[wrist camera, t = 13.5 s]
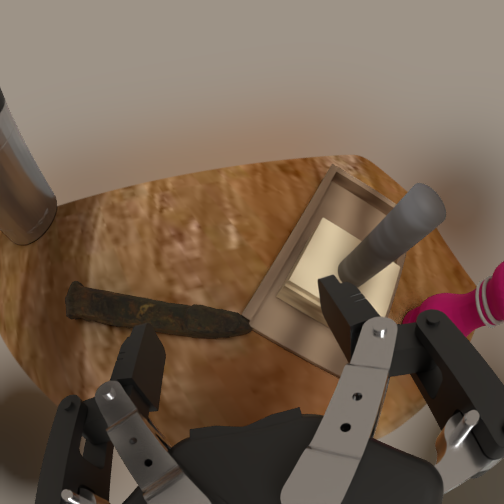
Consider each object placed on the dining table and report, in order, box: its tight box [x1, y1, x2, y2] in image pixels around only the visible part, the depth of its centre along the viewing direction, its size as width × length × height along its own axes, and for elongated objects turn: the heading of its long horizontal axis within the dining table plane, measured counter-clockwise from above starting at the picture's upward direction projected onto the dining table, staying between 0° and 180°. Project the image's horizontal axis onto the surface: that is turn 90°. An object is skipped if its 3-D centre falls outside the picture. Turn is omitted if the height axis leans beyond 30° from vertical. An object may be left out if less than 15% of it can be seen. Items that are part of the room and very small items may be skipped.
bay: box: [241, 164, 406, 378], centre depth 32 cm, size 14×24×3 cm, turn 150°
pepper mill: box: [402, 262, 504, 337], centre depth 22 cm, size 7×7×20 cm
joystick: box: [276, 183, 446, 327], centre depth 22 cm, size 10×8×17 cm
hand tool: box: [65, 281, 252, 339], centre depth 25 cm, size 19×4×5 cm, turn 84°
